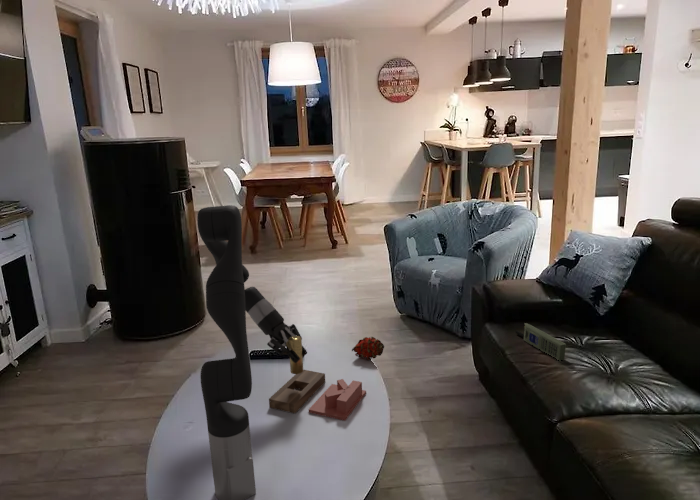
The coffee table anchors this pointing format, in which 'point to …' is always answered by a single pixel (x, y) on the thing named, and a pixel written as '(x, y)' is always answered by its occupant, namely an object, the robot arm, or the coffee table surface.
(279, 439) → the coffee table surface
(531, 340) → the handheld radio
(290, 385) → the brown flat block
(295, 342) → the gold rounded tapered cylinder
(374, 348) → the dragon fruit
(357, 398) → the V-block
